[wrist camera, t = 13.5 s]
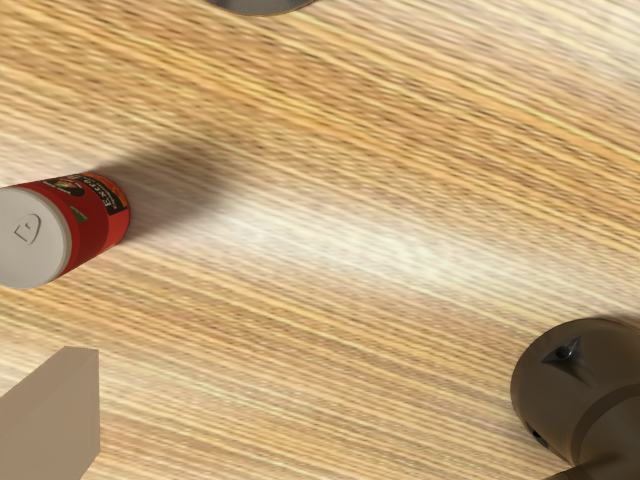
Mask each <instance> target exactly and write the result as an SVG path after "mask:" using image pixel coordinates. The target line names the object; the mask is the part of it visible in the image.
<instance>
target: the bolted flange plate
mask: <svg viewBox="0 0 640 480" xmlns="http://www.w3.org/2000/svg"><path fill="white" fill-rule="evenodd" d="M203 1H205V2H207V3H209V4H211V5H213V6H215V7H217V8H219V9H222V10H225V11H228V12H231V13H234V14H239V15H245V16H257V17H265V16H275V15H281V14H285V13H289V12H292V11H295V10H297V9H300V8H302V7H305V6H307V5H309V4H310V3H312V2H314V1H315V0H203Z"/></svg>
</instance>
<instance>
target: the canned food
mask: <svg viewBox="0 0 640 480" xmlns="http://www.w3.org/2000/svg"><path fill="white" fill-rule="evenodd" d="M129 221H130V208H129V204H128V201H127V199H126V197H125V195H124V193H123V192H122V190H121V189H120V188H119V187H118V186H117V185H116V184H115V183H113V182H112V181H110V180H109V179H107V178H104V177H102V176H99V175H96V174H91V173H79V174H73V175H68V176H62V177H56V178H51V179H45V180H40V181H34V182H28V183H23V184H17V185H12V186H7V187H3V188H0V285H2V286H4V287H8V288H13V289H31V288H36V287H39V286H42V285H44V284H47V283H49V282H51V281H53V280H55V279H57V278H59V277H60V276H62V275H64V274H66V273H68V272H69V271H71V270H73V269H75V268H76V267H78V266H80V265H82V264H83V263H85V262H87V261H89V260H90V259H92V258H94V257H96V256H97V255H99V254H101V253H103V252H104V251H106V250H108V249H110V248H111V247H113V246H114V245H116V244H117V243H118V242H119V241H120V240H121V239H122V237H123V236H124V234H125V232H126V230H127V228H128V225H129Z"/></svg>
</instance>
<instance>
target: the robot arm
mask: <svg viewBox="0 0 640 480" xmlns="http://www.w3.org/2000/svg"><path fill="white" fill-rule="evenodd" d="M510 393H511V400H512V404H513V407H514V410H515V412H516V414H517V416H518V417H519V419H520V420H521V422H522V423H523V425H524V426H525V428H526V429H527V431H528V432H529V433H530V434H531V435H532V436H533V437H534V439H535V440H537V441H538V442H539V443H540V444H542V445H543V446H544V447H546V448H547V449H549V450H550V451H551V452H553V453H554V454H555V455H557V456H558V457H559V458H561V459H562V460H564V461H565V462H566V463H568V464H569V465H571V466H572V467H573V468H570V469H568V470H566V471H562V472H560V473H557V474H555V475H553V476H550V477H548V478H545V479H543V480H640V335H638V334H637V333H635V332H634V331H632V330H631V329H629V328H628V327H626V326H624V325H621V324H619V323H616V322H613V321H608V320H602V319H584V320H577V321H572V322H569V323H566V324H563V325H560V326H558V327H555V328H553V329H551V330H550V331H548V332H546V333H545V334H543V335H542V336H540V337H539V338H538V339H536V340H535V341H534V342H533V343H532V344H531V345H530V346H529V347H528V348H527V349H526V351H525V352H524V353H523V354H522V356H521V357H520V359H519V361H518V362H517V365H516V367H515V369H514V372H513V375H512V379H511V387H510ZM99 452H100V411H99V351H98V350H96V349H88V348H79V347H70V346H64V347H63V348H62V349H60V350H59V351H58V352H57V353H55V354H54V355H53V356H52V357H50V358H49V359H48V360H47V361H45V362H44V363H43V364H42V365H40V366H39V367H38V368H37V369H35V370H34V371H33V372H32V373H31V374H29V375H28V376H27V377H26V378H24V379H23V380H22V381H21V382H19V383H18V384H17V385H16V386H14V387H13V388H12V389H11V390H9V391H8V392H7V393H6V394H4V395H3V396H2V397H1V398H0V480H80V479H81V477H82V476H83V475H84V473H85V472H86V470H87V469H88V468H89V466H90V465H91V463H92V462H93V461H94V459H95V458H96V457H97V455H98V454H99Z"/></svg>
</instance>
